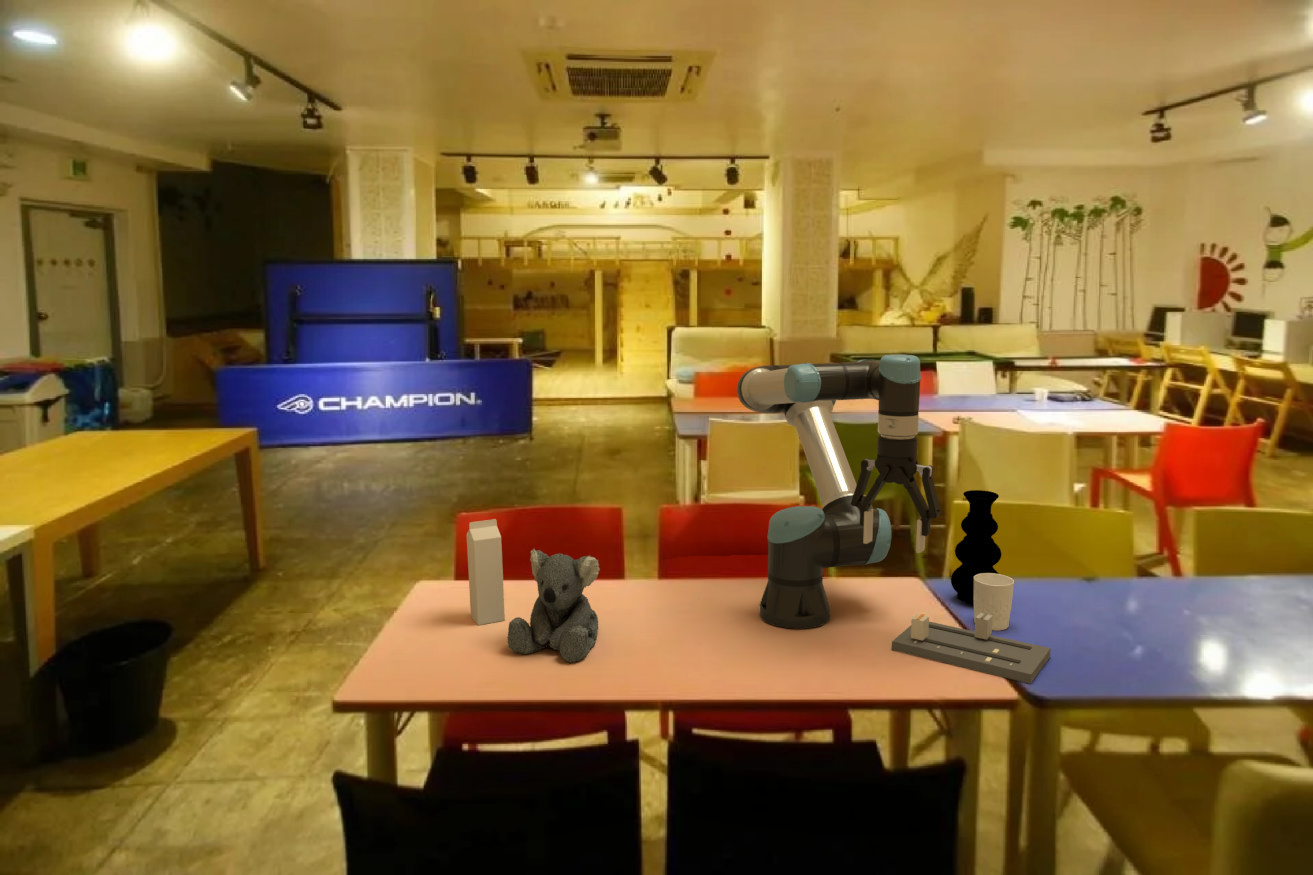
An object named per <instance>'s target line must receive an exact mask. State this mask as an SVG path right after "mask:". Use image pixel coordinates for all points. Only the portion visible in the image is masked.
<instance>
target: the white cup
mask: <svg viewBox="0 0 1313 875" xmlns="http://www.w3.org/2000/svg"><path fill="white" fill-rule="evenodd" d="M1014 585H1015V580H1014V578H1011V577H1010V576H1007V575H1004V574H1000V573H999V574H995V573H982V574H977V575H975V576H974V605H973V613H974V614H973V615H974V616H973V617H974V618H973V622H974V623H975V618H976V617H977V616H978V615H979V614H980V613H983V614H985V613H988V615H993V618H992V631H996V632H997V631H1004V630H1007V628H1009V626H1010V625H1009V624H1010V616H1011V612H1012V605H1013V595H1014V587H1015V586H1014Z"/></svg>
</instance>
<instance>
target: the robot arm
mask: <svg viewBox="0 0 1313 875" xmlns="http://www.w3.org/2000/svg"><path fill="white" fill-rule="evenodd" d="M921 374H922V373H921V359H920V358H919V357H918V356H916V355H912V354H885V355H883V356H882V357H881V358H880V360H879V361H878V360H876V359H860V360H858V361H851V362H850V361H846V362H833V363H832V362H827V363H825V362H824V363H823V362H821V363H811V362H804V363H799V364H775V365H772V364H770V365H768V364H767V365H760V366H759V365H758V366H756V367H753V368H750V369H749V370H747V371H745V372H744V373H743V374H742V375H741V376H740V377H739V380H738V381H737V385H736V394H737V398H738V400H739V402H740V403H741V404H742V405H743V407H745V408H746V409H748V410H750V411H753V412H755V413H759V414H784V418H785V419H786V422H787V423H788V424H789V425H790V426H792V427H795V429H796V431H797V435H798V437H799V441H800V444H801V446H802V449H803V452H804V455H805V459H806V460H807V463H808V464H807V465H808V467H809V469H810V473H811V475H812V478H813V482H814V484H815V487H816V489H817V493H818V496H819V498H820V501H821V504H822V507H821V508H820V507H818V506H817V507H816V506H811V505H808V506H805V505H804V506H803V505H799V506H791V507H787V508H783V509H780V510H779V511H777V512H775V513H774V514H773V515H772V516H771V517H770V519H769V521H768V532H767V535H766V536H767V544H768V545H767V549H768V550H767V555H768V556H767V557H768V558H767V582H766V586H765V588H764V591H763V594H762V598H761V600H760V601H759V602H760V603H759V616H760V618H761V620H762V621H764V622H766V623H767V624H770V625H771V626H775V627H778V628H779V627H780V628H786V629H795V630H796V629H797V630H799V629H803V630H804V629H812V628H813V629H814V628H817V627H820V626H823V625H825V624H827V623H828V622H829V621H830V620H831V605H830V602H829V599H828V596H827V592H826V589H825V587H824V583H823V581H824V580H823V579H824V577H823V575H824V569H825V568H827V569H828V568H840V567H849V566H850V567H851V566H860V565H862V566H867V565H868V564H874V563H880V562H881V561H883V560H884V559H885V558H886V557H887V555H888V552H889V550H890V548H891V543H892V542H891V541H892V526H891V525H892V524H891V521H890V518H889V516H888V513H887V512H886V511H885V510H884V509H883V508H878V507H877V508H874V507H873V502H874V501H875V499H876V498H877V497H878V495H879V493H880V491H881V490H882V489H883V487H884V485H886V483H890V484H893V483H895V484H897V485H903V487H904V489H905V490H906V491H907V493H908V494H909V496H910V499H911V500H912V503H913V504H914V506H915V509H916V511H917V512H918V514H919V518H917V519H916V540H915V553H917V554H921V553H922V552H923V551H925V549H926V537H927V536H929V535H930V534H931V526H932V525H931V522H932V520H933V519H936V518H938V517H940V516H941V515H942V510H941V506H940V503H939V502H940V501H939V498H938V494H937V491H936V486H935V482H934V477H933V475H934V466H932V465H922V464H919V463H918V459H917V458H918V444H919V442H918V440H919V439H918V438H917V435H918V434H919V417H920V416H919V415H920V414H919V411H920V397H921V396H920V395H921V394H920V392H921V381H922V380H921V379H922V375H921ZM868 399H869V400H875V401H878V410H877V411H878V415H877V433H878V434H879V435H878V436H877V441H876V442H877V443H876V456H877V457H876V459H871V458H869V457H868V458H865V459H863V460H861V461H860V474H859V476H858V477H859V478H858V480H857V482H856V479H855V476H854V474H853V471H852V468H851V466H850V464H849V461H848V459H847V456H846V453H845V450H844V448H843V445H842V443H841V439H840V437H839V435H838V431H837V429H836V426H835V424H834V421H833V419H832V416H831V414H832V412H833V410H834V406H835V405H836V401H851V400H854V401H855V400H868ZM875 468H876V470H877V471H878V473H879V474H878V476H877V478H876V479H875V481H874V483H873V485H872V486H871V487H870V490H869V491H868V492H867V494H865V492H866V489H867V486H868V483H869V480H870V478H871V473H872V471H873V470H874V469H875ZM916 472H918V474H919V477H921V482H922V486H923V491H924V495H925V498H924V496H923V494H922V492H921V490H920V488H919V486H918V482H917V480H916V478H915V474H917V473H916ZM925 499H926V500H925ZM926 501H927V502H926Z"/></svg>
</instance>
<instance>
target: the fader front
mask: <svg viewBox="0 0 1313 875" xmlns="http://www.w3.org/2000/svg"><path fill="white" fill-rule="evenodd" d="M929 621H930V616H929V615H925V614H923V613H921V614H919V613H916V614H915V615H914V616H912V618H911V623H910V624H911V625H910V626H911V638H914V639H918V640H922V641H923V640H924V639H925V638H926V637H927V636H928V631H929Z"/></svg>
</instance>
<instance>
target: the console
mask: <svg viewBox="0 0 1313 875" xmlns="http://www.w3.org/2000/svg"><path fill="white" fill-rule="evenodd" d="M974 636H975V630H971V629H965V628H961V627H956V626H952V625H947V624H943V623H938V622H933V621H930V620H929V631H928V636H927V637H926V638H925V639H924V640H923V641H922V640H918V639H914V638H911V625H909V626H908V627H907V628H906V629H905V630H904V631H902V632H901V633H900V634H899V635H898V636H897V637H895V638H894V639H893V640H892V641H891V651H895V652H899V653H902V654H907V655H911V656H916V657H919V658H925V659H928V660H932V661H936V662H940V663H944V664H949V665H952V666H957V667H959V668H960V667H961V668H965V669H969V670H971V671H972V670H973V671H977V672H981V673H985V674H989V675H993V676H997V677H1000V678H1001V677H1002V678H1004V679H1005V678H1006V679H1008V680H1009V679H1010V680H1013V681H1016V682H1017V681H1018V682H1020V683H1021V682H1023V683H1026V684H1031V685H1032V683H1033V682H1034V680H1035V679H1036V678H1037V675H1038V674H1040V672H1041V671H1042V669H1043V668H1044V667H1045V665H1046V663H1048V661H1049V659H1050V658H1051V650H1052V649H1051V647H1048V646H1042V645H1038V644H1033V643H1029V642H1025V641H1020V640H1016V639H1011V638H1007V637H1001V636H997V635H991V636H990V637H989V638H988V639H987V640H986V639H982V638H977V637H974Z"/></svg>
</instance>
